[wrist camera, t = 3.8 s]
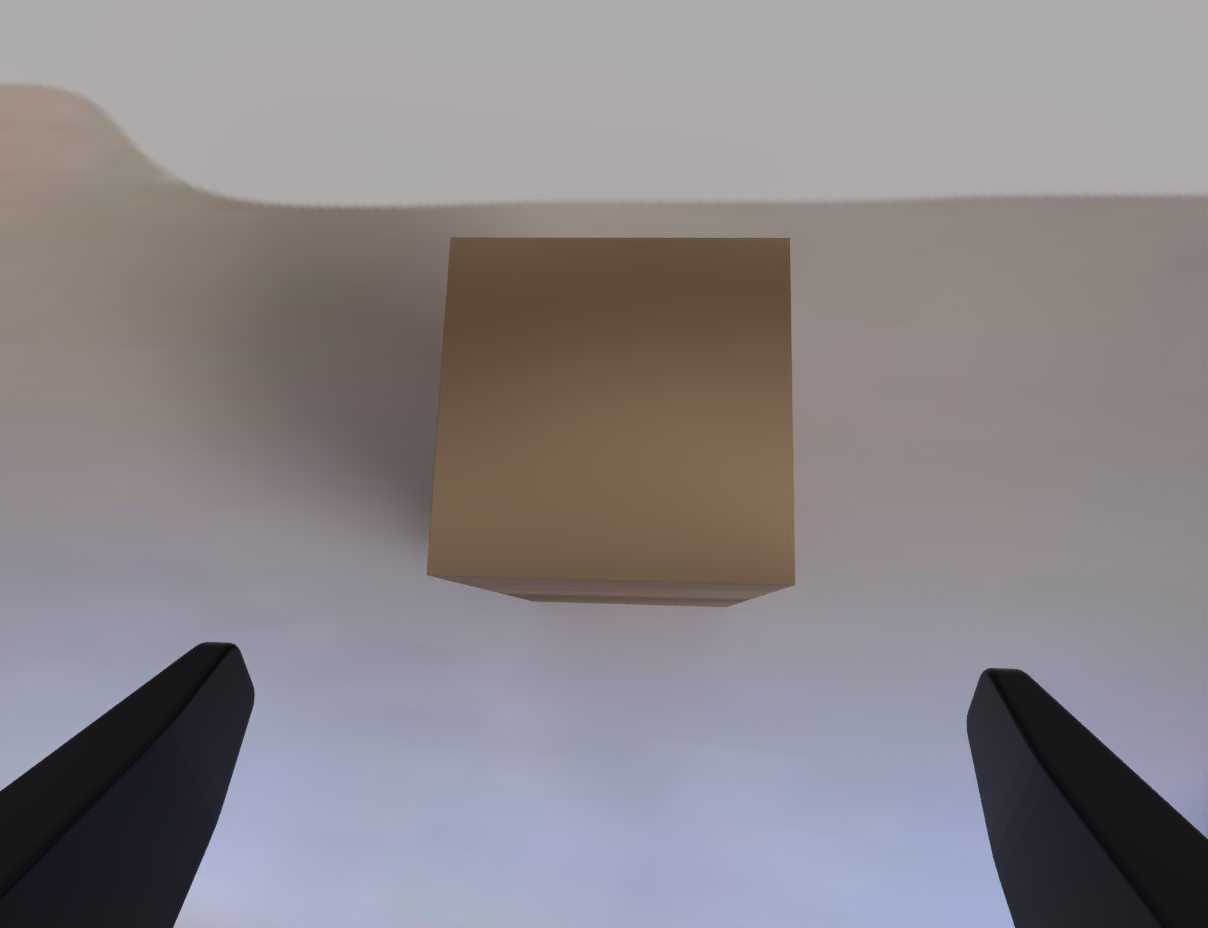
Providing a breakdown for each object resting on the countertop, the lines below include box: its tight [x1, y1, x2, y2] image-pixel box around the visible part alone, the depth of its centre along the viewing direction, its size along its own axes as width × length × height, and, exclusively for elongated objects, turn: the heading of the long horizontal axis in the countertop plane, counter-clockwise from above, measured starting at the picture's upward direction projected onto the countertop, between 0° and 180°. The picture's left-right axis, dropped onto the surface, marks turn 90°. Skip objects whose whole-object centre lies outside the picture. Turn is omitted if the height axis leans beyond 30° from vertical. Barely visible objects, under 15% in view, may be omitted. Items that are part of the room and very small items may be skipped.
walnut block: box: [427, 238, 795, 607], centre depth 17 cm, size 5×5×10 cm
